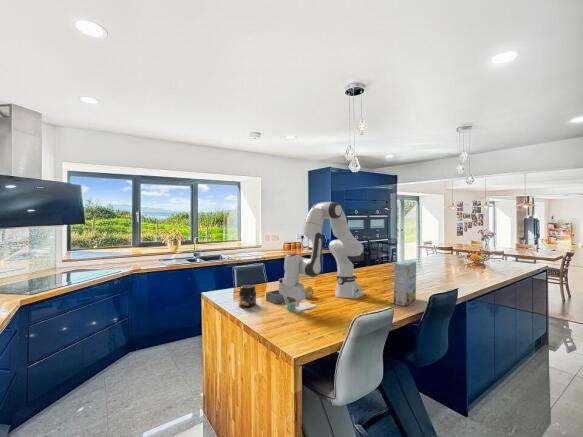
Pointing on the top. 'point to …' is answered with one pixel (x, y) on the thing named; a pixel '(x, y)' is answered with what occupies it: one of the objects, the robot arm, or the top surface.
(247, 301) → the supplement container
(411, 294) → the snack box
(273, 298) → the tub
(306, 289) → the dumbbell
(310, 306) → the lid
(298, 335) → the top surface
